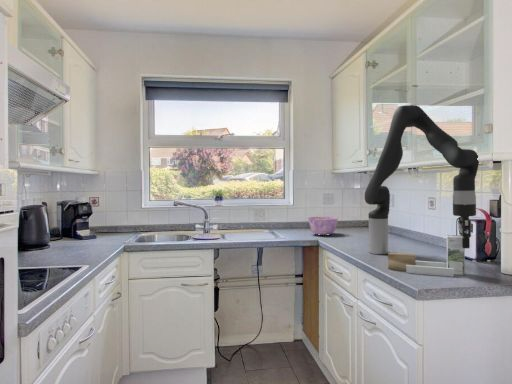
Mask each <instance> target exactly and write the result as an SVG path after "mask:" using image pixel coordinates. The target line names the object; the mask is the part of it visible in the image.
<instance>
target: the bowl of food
mask: <svg viewBox="0 0 512 384" xmlns="http://www.w3.org/2000/svg"><path fill="white" fill-rule="evenodd" d="M307 220H308V223H309V227H310V230H311V232H312V233H313V234H315V235H317V234H320V235H327V234H329V235H331V234H333V233H334V232H335V231H336V229H337V224H338V220H339V218H338V217H333V216H311V217H307Z"/></svg>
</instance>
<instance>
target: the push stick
mask: <svg viewBox="0 0 512 384" xmlns="http://www.w3.org/2000/svg"><path fill="white" fill-rule="evenodd" d="M387 257H388V258H387V265H388V266H387V267H388V268H387V269H388V270H393V269H396V270H406V265H416V261H417V259H416V254H415V253H398V252H388V253H387Z"/></svg>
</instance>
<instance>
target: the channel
mask: <svg viewBox="0 0 512 384" xmlns="http://www.w3.org/2000/svg"><path fill="white" fill-rule="evenodd" d="M392 271H395V272H405V273H406V274H407V273H408V274H417V275H418V274H419V275H430V276H442V277H443V276H444V277H453V278H454V276H455V275H454V268H447V262H441V261H428V260H426V261H425V260H416V265H406V270H396V269H392Z"/></svg>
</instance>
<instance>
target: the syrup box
mask: <svg viewBox="0 0 512 384" xmlns="http://www.w3.org/2000/svg"><path fill="white" fill-rule="evenodd" d="M465 250H466V248H463V247H462V236H461V234H459V235H458V234H457V235H456V234H455V235H454V234H447V235H446V263H447V268H454V276H465V269H466V268H465V265H466V264H465V262H466V261H465V253H466V251H465Z"/></svg>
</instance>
